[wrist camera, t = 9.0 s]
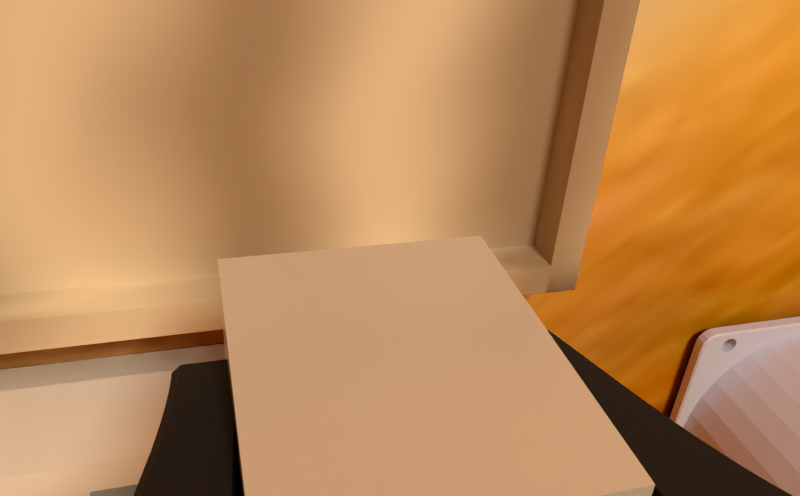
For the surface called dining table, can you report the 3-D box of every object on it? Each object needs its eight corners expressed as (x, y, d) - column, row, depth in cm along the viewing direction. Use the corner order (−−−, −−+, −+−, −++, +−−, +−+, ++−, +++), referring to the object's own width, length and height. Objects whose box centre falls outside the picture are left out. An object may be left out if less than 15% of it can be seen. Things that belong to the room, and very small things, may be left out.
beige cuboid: (480, 235, 10) (654, 484, 7) (455, 423, 12) (581, 698, 9) (217, 258, 9) (253, 560, 6) (233, 457, 11) (267, 782, 8)
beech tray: (656, -359, 13) (724, -378, 12) (541, 248, 20) (574, 289, 19) (-260, -489, 10) (-343, -541, 8) (-27, 302, 17) (-47, 359, 15)
